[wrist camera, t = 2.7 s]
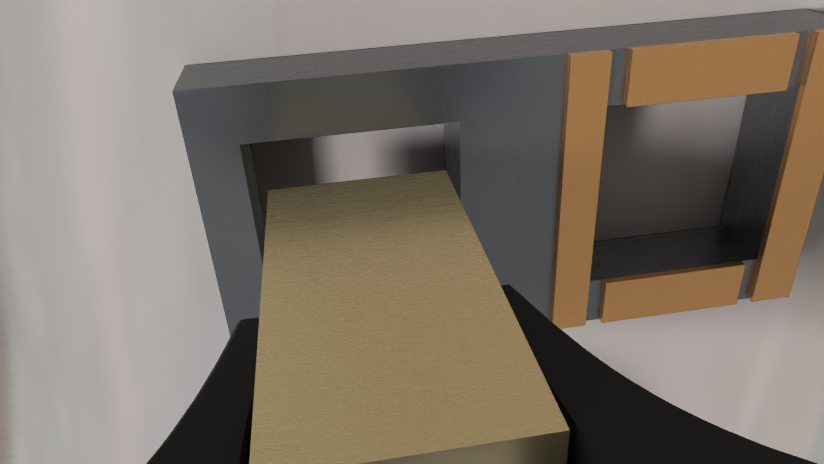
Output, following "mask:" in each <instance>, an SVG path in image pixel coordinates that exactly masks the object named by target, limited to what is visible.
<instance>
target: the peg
mask: <svg viewBox="0 0 824 464" xmlns="http://www.w3.org/2000/svg"><path fill="white" fill-rule="evenodd" d="M569 434H570V430H569V428H568V425H567V423H566V421H565V419H564V417H563V415H562V413H561V411H560V409H559V407H558V404H557V402H556V400H555V398H554V396H553V394H552V392H551V390H550V388H549V386H548V384H547V381H546V379H545V377H544V375H543V373H542V371H541V369H540V367H539V365H538V363H537V361H536V358H535V356H534V354H533V352H532V350H531V348H530V346H529V344H528V342H527V340H526V337H525V335H524V333H523V331H522V329H521V327H520V325H519V323H518V321H517V319H516V317H515V314H514V312H513V310H512V308H511V306H510V304H509V302H508V300H507V298H506V296H505V294H504V291H503V289H502V287H501V285H500V283H499V281H498V279H497V277H496V275H495V273H494V271H493V268H492V266H491V264H490V262H489V260H488V258H487V256H486V254H485V252H484V250H483V247H482V245H481V243H480V241H479V239H478V237H477V235H476V233H475V231H474V229H473V227H472V224H471V222H470V220H469V218H468V216H467V214H466V212H465V210H464V208H463V206H462V204H461V201H460V199H459V197H458V195H457V193H456V191H455V189H454V187H453V185H452V183H451V180H450V178H449V176H448V174H447V172H446V170H441V171H432V172H424V173H415V174H406V175H397V176H388V177H380V178H371V179H362V180H353V181H345V182H336V183H327V184H318V185H309V186H301V187H292V188H283V189H274V190H268V198H267V213H266V227H265V242H264V256H263V271H262V285H261V300H260V314H259V329H258V343H257V358H256V372H255V387H254V401H253V416H252V430H251V445H250V459H249V464H567V456H568V445H569Z"/></svg>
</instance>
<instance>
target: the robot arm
mask: <svg viewBox="0 0 824 464" xmlns="http://www.w3.org/2000/svg"><path fill="white" fill-rule="evenodd" d="M501 287H502V289H503V291H504V294H505V296H506V298H507V300H508V302H509V304H510V306H511V308H512V310H513V312H514V314H515V317H516V319H517V321H518V323H519V325H520V327H521V329H522V331H523V333H524V335H525V337H526V340H527V342H528V344H529V346H530V348H531V350H532V352H533V354H534V356H535V358H536V361H537V363H538V365H539V367H540V369H541V371H542V373H543V375H544V377H545V379H546V381H547V384H548V386H549V388H550V390H551V392H552V394H553V396H554V398H555V400H556V402H557V404H558V407H559V409H560V411H561V413H562V415H563V417H564V419H565V421H566V423H567V425H568V428H569V430H570V434H569V445H568V456H567V464H817V463H814V462H811V461H808V460H805V459H802V458H799V457H796V456H793V455H790V454H787V453H784V452H781V451H778V450H775V449H772V448H769V447H767V446H764V445H761V444H759V443H756V442H754V441H751V440H749V439H746V438H744V437H741V436H739V435H737V434H734V433H732V432H729V431H727V430H725V429H722V428H720V427H718V426H716V425H713V424H711V423H709V422H707V421H704V420H702V419H700V418H698V417H696V416H694V415H692V414H690V413H688V412H686V411H684V410H682V409H680V408H678V407H676V406H674V405H672V404H670V403H669V402H667V401H665V400H663V399H661V398H659V397H658V396H656V395H654V394H652V393H651V392H649V391H647V390H646V389H644V388H642V387H641V386H639V385H637V384H636V383H634V382H632V381H631V380H629V379H627V378H626V377H624V376H623V375H621V374H620V373H618V372H617V371H615V370H614V369H612V368H611V367H609V366H608V365H606V364H605V363H604V362H602V361H601V360H599V359H598V358H597V357H595V356H594V355H592V354H591V353H590V352H588V351H587V350H586V349H584V348H583V347H582V346H580V345H579V344H578V343H577V342H576V341H574V340H573V339H572V338H571V337H569V336H568V335H567V334H566V333H564V332H563V331H562V330H561V329H560V328H558V327H557V326H556V325H555V324H554V323H552V322H551V321H550V320H549V319H548V318H547V317H546V316H544V315H543V314H542V313H541V312H540V311H539V310H538V309H536V308H535V307H534V306H533V305H532V304H531V303H530V302H529V301H528V300H526V299H525V298H524V297H523V296H522V295H521V294H520V293H519V292H518V291H516V290H515V289H514V288H513V287H512V286H511V285H509V284H507V285H501ZM258 329H259V317H257V318H249V319H242V320H240V321H239V323H238V324H237V325H236V327H235V329H234V331H233V333H232V335H231V337H230V339H229V341H228V343H227V345H226V347H225V349H224V350H223V352H222V354H221V356H220V358H219V360H218V361H217V363H216V365H215V367H214V368H213V370H212V372H211V373H210V375H209V377H208V378H207V380H206V382H205V383H204V385H203V386H202V388H201V390H200V391H199V393H198V395H197V396H196V398H195V399H194V401H193V402H192V404H191V405H190V407H189V408H188V409H187V411H186V412H185V414H184V415H183V417H182V418H181V419H180V421H179V422H178V424H177V425H176V427H175V428H174V430H173V431H172V432H171V434H170V435H169V436H168V438H167V439H166V440H165V441H164V443H163V444H162V445H161V447H160V448H159V449H158V450H157V452H156V453H155V454H154V455H153V456H152V458H151V459H150V460H149V461H148V462H147V464H249V459H250V445H251V430H252V416H253V401H254V387H255V372H256V358H257V343H258Z"/></svg>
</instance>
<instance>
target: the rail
mask: <svg viewBox="0 0 824 464" xmlns="http://www.w3.org/2000/svg"><path fill="white" fill-rule="evenodd" d="M738 95H747V99H746V104H745V109H744V114H743V118H742V123H741V128H740V133H739V138H738V143H737V147H736V152H735V157H734V162H733V167H732V172H731V176H730V181H729V186H728V191H727V196H726V201H725V205H724V210H723V215H722V220H721V225H720V226H715V227H707V228H699V229H691V230H683V231H676V232H668V233H660V234H652V235H644V236H636V237H628V238H620V239H612V240H605V241H597V242H594V234H595V224H596V214H597V203H598V193H599V183H600V173H601V163H602V153H603V143H604V133H605V123H606V113H607V106H614V105H624V106H625V107H634V106H643V105H653V104H662V103H672V102H681V101H691V100H700V99H710V98H719V97H729V96H738ZM173 96H174V100H175V104H176V108H177V113H178V117H179V121H180V125H181V129H182V134H183V138H184V142H185V146H186V151H187V155H188V159H189V163H190V167H191V172H192V176H193V180H194V184H195V189H196V193H197V197H198V201H199V205H200V210H201V214H202V218H203V222H204V227H205V231H206V235H207V239H208V243H209V248H210V252H211V256H212V260H213V265H214V269H215V273H216V277H217V281H218V286H219V290H220V294H221V298H222V303H223V307H224V311H225V315H226V320H227V324H228V328H229V332H230V336H231V335H232V333H233V331H234V329H235V327H236V325H237V324H238V323H239V321H240V320H242V319H249V318H257V317H259V314H260V300H261V285H262V271H263V256H264V242H265V222H264V217H263V212H262V206H261V201H260V195H259V190H258V184H257V179H256V174H255V168H254V163H253V157H252V152H251V147H250V144H251V143H261V142H270V141H280V140H290V139H299V138H309V137H318V136H328V135H337V134H347V133H356V132H366V131H375V130H385V129H395V128H404V127H414V126H423V125H433V124H442V123H444V125H445V161H446V172H447V174H448V176H449V178H450V180H451V183H452V185H453V187H454V189H455V191H456V193H457V195H458V197H459V199H460V201H461V204H462V206H463V208H464V210H465V212H466V214H467V216H468V218H469V220H470V222H471V224H472V227H473V229H474V231H475V233H476V235H477V237H478V239H479V241H480V243H481V245H482V247H483V250H484V252H485V254H486V256H487V258H488V260H489V262H490V264H491V266H492V268H493V271H494V273H495V275H496V277H497V279H498V281H499V283H500V285H507V284H509V285H511V286H512V287H513V288H514V289H515V290H516V291H518V292H519V293H520V294H521V295H522V296H523V297H524V298H525V299H526V300H528V301H529V302H530V303H531V304H532V305H533V306H534V307H535V308H536V309H538V310H539V311H540V312H541V313H542V314H543V315H544V316H546V317H547V318H548V319H549V320H550V321H551V322H552V323H554V324H555V325H556V326H557V327H558V328H560V329H561V328H568V327H576V326H583V325H585V324H586V320H593V319H600V321H601V322H602V323H604V322H611V321H618V320H625V319H633V318H640V317H647V316H654V315H661V314H668V313H675V312H682V311H690V310H697V309H704V308H711V307H718V306H725V305H732V304H736V303H737V299H744V298H748V299H749V300H750V301H752V302H754V301H761V300H768V299H775V298H782V297H789V294H790V291H791V287H792V284H793V280H794V277H795V273H796V270H797V266H798V263H799V259H800V256H801V252H802V248H803V245H804V241H805V238H806V234H807V231H808V227H809V224H810V220H811V217H812V213H813V210H814V206H815V203H816V199H817V195H818V192H819V188H820V185H821V181H822V178H823V174H824V14H821V13H818V12H814V11H811V10H808V9H797V10H786V11H775V12H765V13H754V14H743V15H732V16H721V17H710V18H699V19H688V20H677V21H666V22H655V23H645V24H634V25H623V26H612V27H601V28H590V29H579V30H568V31H557V32H546V33H535V34H524V35H514V36H503V37H492V38H481V39H470V40H459V41H448V42H437V43H426V44H415V45H404V46H394V47H383V48H372V49H361V50H350V51H339V52H328V53H317V54H306V55H295V56H284V57H274V58H263V59H252V60H241V61H230V62H219V63H208V64H197V65H186V66H184V68H183V71H182V73H181V75H180V77H179V79H178V81H177V83H176V85H175V87H174V89H173Z"/></svg>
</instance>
